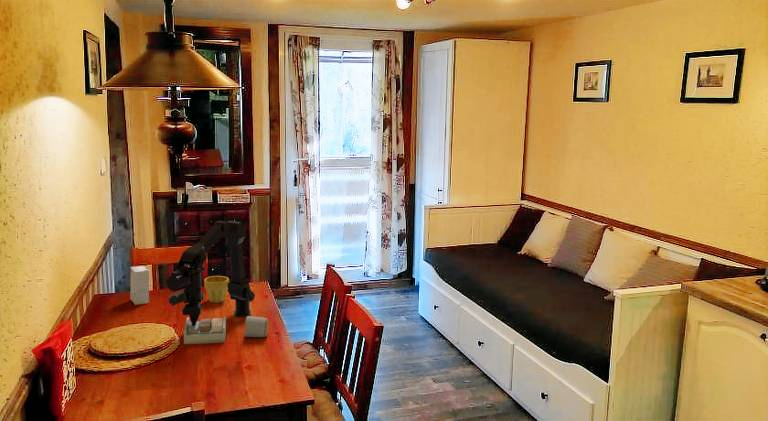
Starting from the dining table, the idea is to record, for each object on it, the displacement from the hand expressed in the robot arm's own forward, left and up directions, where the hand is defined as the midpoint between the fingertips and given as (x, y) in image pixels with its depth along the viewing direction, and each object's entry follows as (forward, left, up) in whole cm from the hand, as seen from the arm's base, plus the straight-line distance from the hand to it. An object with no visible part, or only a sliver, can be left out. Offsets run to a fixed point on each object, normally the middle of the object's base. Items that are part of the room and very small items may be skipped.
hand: (193, 325), depth 220 cm
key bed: (0, +4, -5) cm, 6 cm away
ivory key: (0, +8, -1) cm, 9 cm away
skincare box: (-44, -26, -5) cm, 52 cm away
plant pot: (-42, +6, -5) cm, 43 cm away
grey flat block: (0, 0, -2) cm, 2 cm away
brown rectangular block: (0, +4, -1) cm, 4 cm away
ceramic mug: (+1, +23, -5) cm, 23 cm away
